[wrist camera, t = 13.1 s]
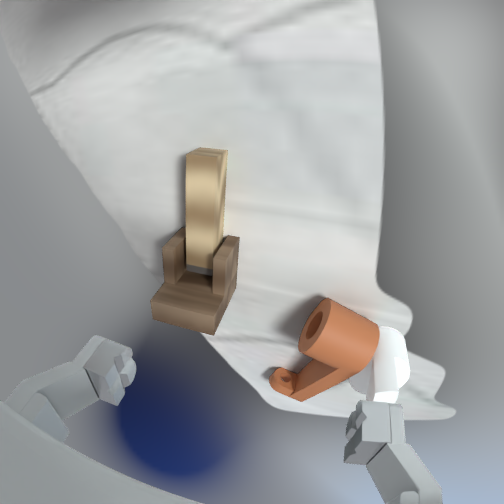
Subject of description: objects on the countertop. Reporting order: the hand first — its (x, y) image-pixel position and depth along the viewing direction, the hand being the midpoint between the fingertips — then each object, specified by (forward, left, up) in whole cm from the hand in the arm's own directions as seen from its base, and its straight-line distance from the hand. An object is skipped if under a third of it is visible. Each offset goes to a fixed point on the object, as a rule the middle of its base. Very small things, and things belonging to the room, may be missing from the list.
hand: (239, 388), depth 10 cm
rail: (+6, -11, -29) cm, 32 cm away
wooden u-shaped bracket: (+14, -11, -29) cm, 34 cm away
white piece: (+24, +16, -29) cm, 41 cm away
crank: (+26, +6, -30) cm, 40 cm away
